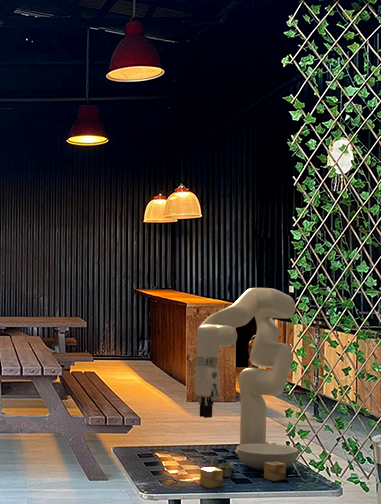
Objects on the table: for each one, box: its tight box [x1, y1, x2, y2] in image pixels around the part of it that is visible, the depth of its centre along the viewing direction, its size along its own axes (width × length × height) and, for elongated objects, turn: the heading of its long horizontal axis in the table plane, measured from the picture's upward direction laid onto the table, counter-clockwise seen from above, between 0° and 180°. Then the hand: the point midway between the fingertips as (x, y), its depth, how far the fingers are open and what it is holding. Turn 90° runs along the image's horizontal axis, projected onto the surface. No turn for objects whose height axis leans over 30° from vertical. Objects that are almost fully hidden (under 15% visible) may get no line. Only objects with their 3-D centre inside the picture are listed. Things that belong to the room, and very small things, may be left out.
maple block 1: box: [199, 466, 224, 489], centre depth 260 cm, size 5×5×5 cm
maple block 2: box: [263, 461, 287, 482], centre depth 272 cm, size 5×5×5 cm
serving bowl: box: [236, 443, 299, 472], centre depth 288 cm, size 21×21×7 cm
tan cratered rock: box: [209, 458, 234, 478], centre depth 277 cm, size 11×8×4 cm
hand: (205, 416), depth 287 cm, fingers closed
